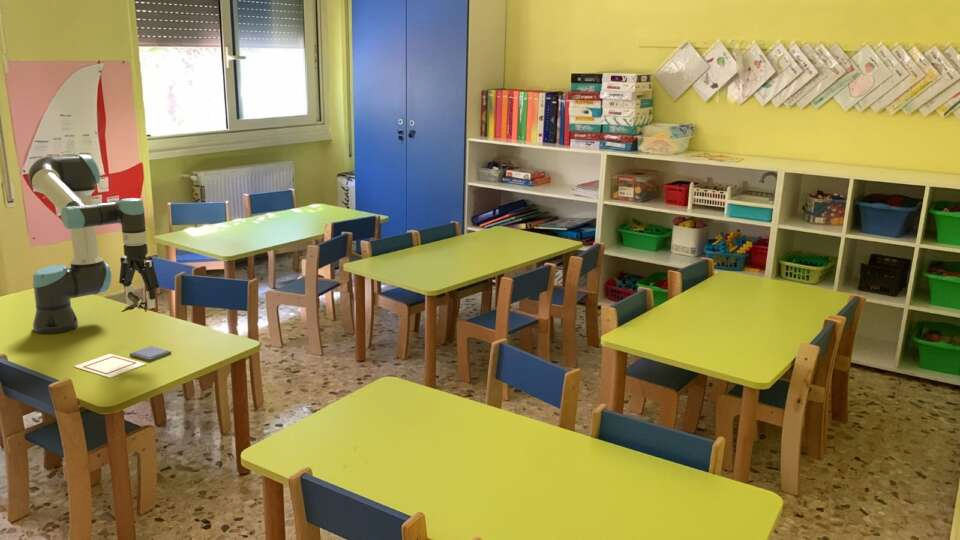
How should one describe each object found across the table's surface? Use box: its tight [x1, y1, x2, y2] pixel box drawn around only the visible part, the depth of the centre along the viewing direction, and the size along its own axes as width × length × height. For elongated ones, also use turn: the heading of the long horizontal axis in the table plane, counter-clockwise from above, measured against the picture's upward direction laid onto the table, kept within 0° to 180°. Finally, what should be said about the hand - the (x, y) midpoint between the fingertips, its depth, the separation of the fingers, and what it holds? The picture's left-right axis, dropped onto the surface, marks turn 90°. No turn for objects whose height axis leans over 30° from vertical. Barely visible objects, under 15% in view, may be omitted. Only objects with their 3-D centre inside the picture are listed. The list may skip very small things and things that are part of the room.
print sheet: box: [73, 353, 147, 379], centre depth 266 cm, size 18×14×1 cm
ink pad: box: [129, 345, 172, 362], centre depth 277 cm, size 10×9×1 cm
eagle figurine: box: [121, 292, 148, 313], centre depth 274 cm, size 8×7×9 cm
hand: (141, 305), depth 276 cm, fingers closed on eagle figurine, 10 cm apart
